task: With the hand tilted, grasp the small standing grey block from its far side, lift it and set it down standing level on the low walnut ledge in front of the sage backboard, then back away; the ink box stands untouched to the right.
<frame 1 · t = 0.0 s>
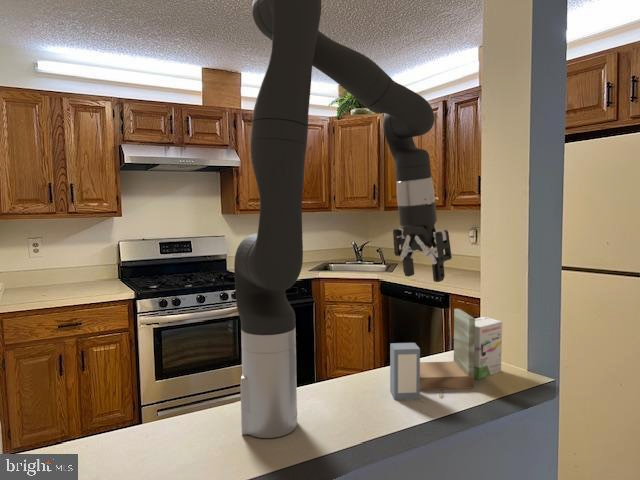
hand: (423, 278, 97), 22 cm above the counter, tool pointing down, fingers open, 8 cm apart
ink box: (481, 373, 104), on the counter
ledge: (438, 380, 100), on the counter
grey block: (404, 395, 92), on the counter
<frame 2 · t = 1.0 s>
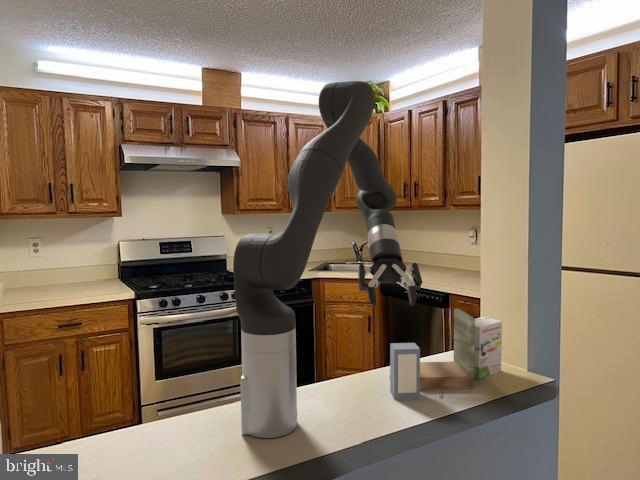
hand: (393, 304, 103), 16 cm above the counter, tool tilted 45°, fingers open, 8 cm apart
nothing on the counter moved.
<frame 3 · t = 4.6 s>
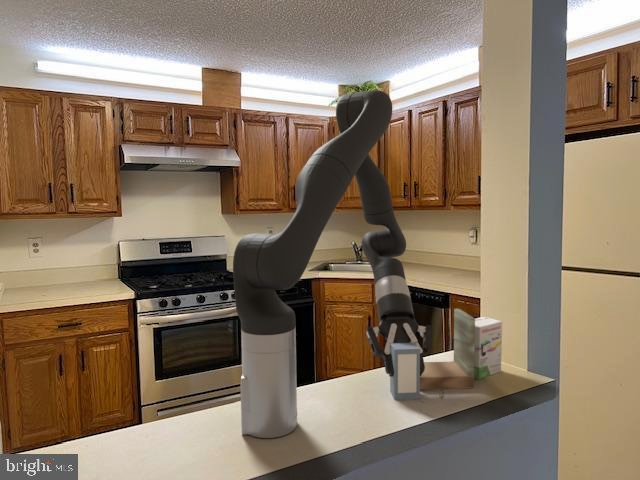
hand: (406, 374, 91), 5 cm above the counter, tool tilted 45°, fingers closed on grey block, 5 cm apart
grey block: (404, 395, 92), on the counter, touching gripper
everything else where it was.
when the fingers open (8 cm above the counter, at t = 9.5 s): grey block stays where it is, resting on ledge.
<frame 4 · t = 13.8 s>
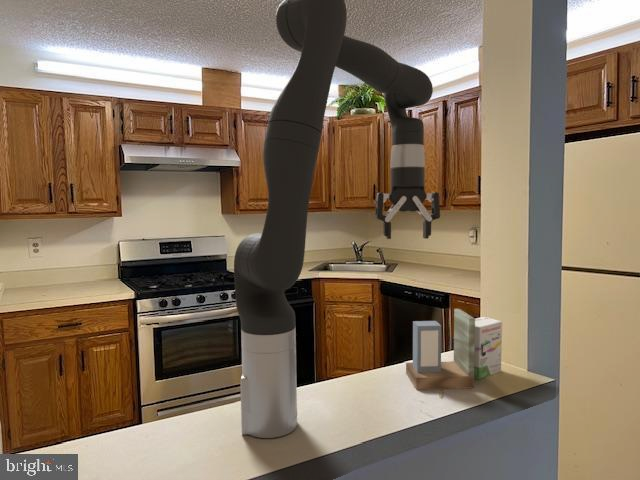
hand: (407, 238, 105), 30 cm above the counter, tool pointing down, fingers open, 8 cm apart
grey block: (426, 369, 100), point 2 cm above the counter, touching ledge
everything else where it was.
at the end: grey block inside the target area on the ledge (1.9 cm from its centre), point 2.5 cm above the ledge's base; grey block tilted 0°; the gripper is holding nothing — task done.
